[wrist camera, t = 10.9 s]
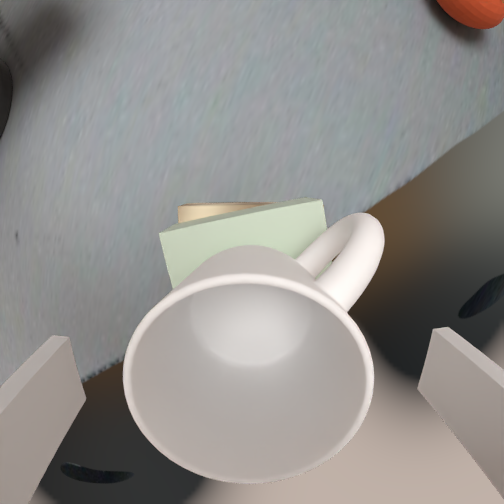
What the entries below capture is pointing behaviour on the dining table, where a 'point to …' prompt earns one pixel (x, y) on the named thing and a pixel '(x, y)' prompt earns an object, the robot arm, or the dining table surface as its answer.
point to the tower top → (243, 234)
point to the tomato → (475, 12)
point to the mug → (258, 358)
